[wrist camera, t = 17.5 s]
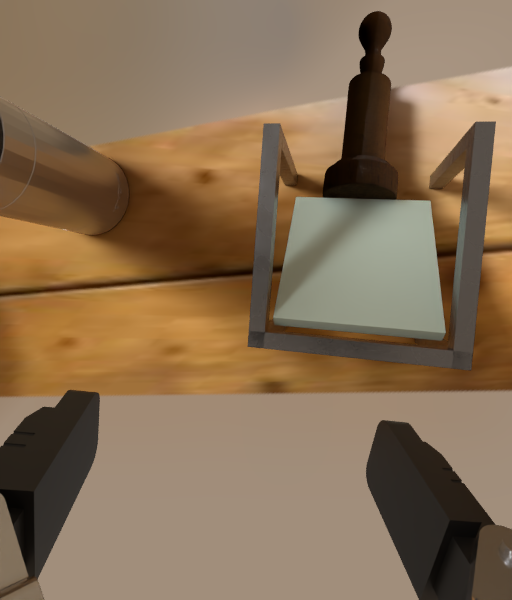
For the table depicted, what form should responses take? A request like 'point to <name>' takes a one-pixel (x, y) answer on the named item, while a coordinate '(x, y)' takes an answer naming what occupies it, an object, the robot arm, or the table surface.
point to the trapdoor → (362, 268)
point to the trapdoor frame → (459, 347)
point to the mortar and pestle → (366, 124)
